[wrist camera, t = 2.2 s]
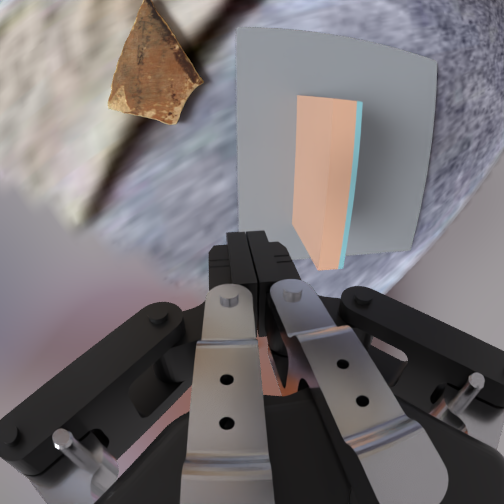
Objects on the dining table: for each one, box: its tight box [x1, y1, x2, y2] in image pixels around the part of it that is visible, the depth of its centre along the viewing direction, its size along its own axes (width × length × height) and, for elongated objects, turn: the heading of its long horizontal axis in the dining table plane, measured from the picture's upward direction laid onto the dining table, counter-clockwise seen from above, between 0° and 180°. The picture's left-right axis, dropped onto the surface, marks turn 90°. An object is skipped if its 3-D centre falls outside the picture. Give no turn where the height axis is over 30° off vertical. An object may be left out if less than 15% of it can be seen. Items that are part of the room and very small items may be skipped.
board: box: [235, 27, 437, 260], centre depth 26 cm, size 22×20×1 cm
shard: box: [108, 0, 204, 125], centre depth 20 cm, size 11×8×2 cm
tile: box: [292, 95, 363, 271], centre depth 22 cm, size 12×2×8 cm, turn 0°
